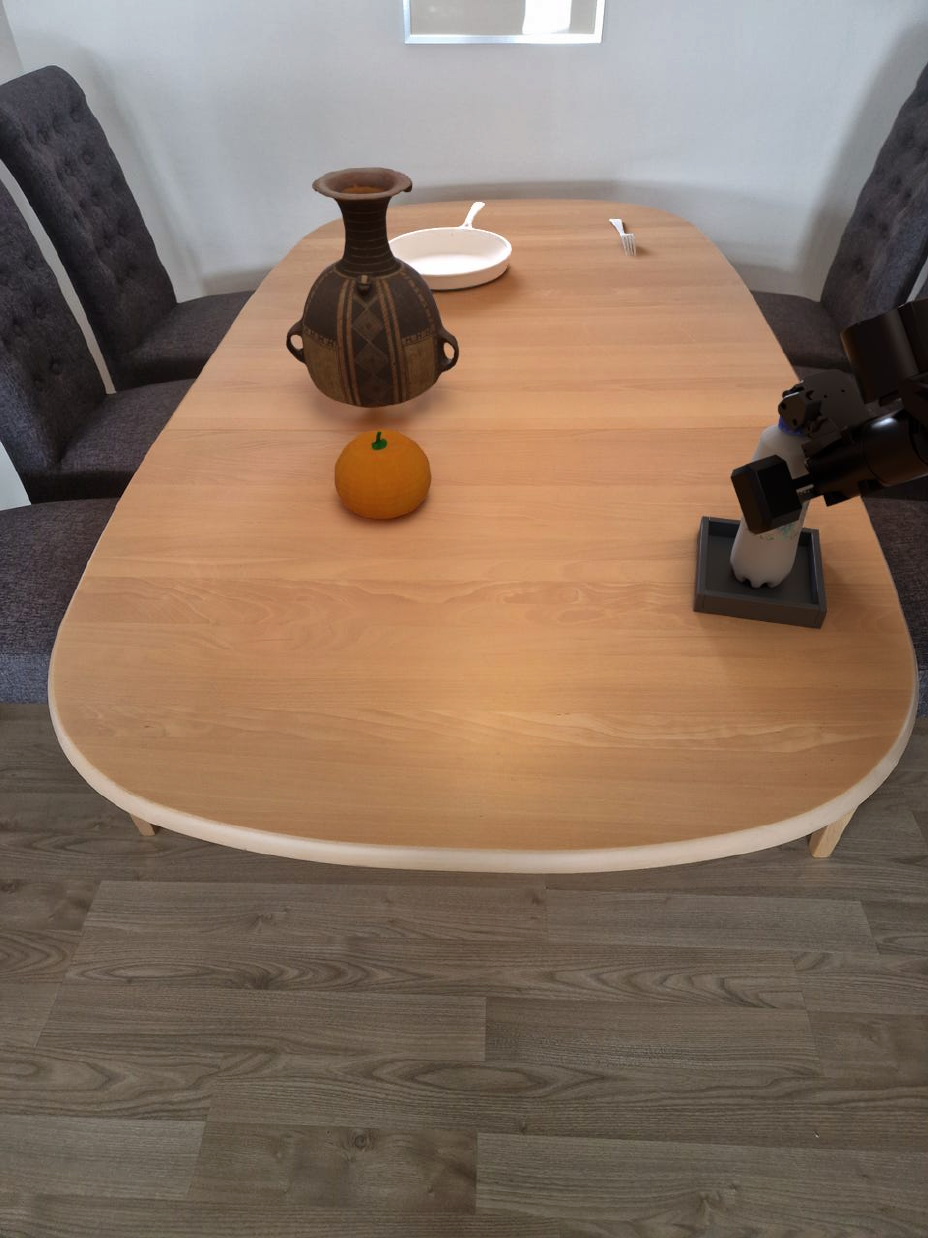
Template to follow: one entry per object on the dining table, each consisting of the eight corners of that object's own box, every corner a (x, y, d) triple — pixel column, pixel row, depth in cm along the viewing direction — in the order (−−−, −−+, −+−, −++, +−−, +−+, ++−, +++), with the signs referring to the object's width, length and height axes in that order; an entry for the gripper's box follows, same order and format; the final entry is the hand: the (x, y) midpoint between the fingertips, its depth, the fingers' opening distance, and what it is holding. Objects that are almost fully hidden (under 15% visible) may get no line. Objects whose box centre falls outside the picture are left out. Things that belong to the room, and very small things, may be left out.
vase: (279, 421, 115) (230, 193, 94) (348, 363, 128) (319, 150, 107) (422, 454, 108) (403, 214, 87) (481, 389, 120) (477, 165, 99)
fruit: (447, 484, 102) (443, 413, 96) (411, 538, 95) (404, 465, 88) (363, 469, 106) (353, 399, 99) (322, 520, 98) (308, 448, 91)
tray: (812, 546, 91) (818, 529, 89) (821, 629, 82) (827, 611, 80) (698, 533, 94) (702, 515, 92) (693, 611, 84) (697, 593, 82)
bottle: (712, 566, 88) (749, 398, 75) (762, 549, 90) (806, 382, 77) (752, 602, 84) (799, 430, 70) (803, 583, 86) (858, 413, 72)
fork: (619, 231, 174) (621, 217, 172) (638, 255, 157) (639, 240, 155) (606, 232, 174) (607, 218, 172) (623, 256, 157) (625, 240, 155)
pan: (362, 289, 149) (359, 263, 146) (425, 221, 175) (424, 198, 172) (493, 299, 144) (493, 273, 140) (538, 228, 170) (538, 205, 167)
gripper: (940, 333, 69) (813, 396, 84) (769, 384, 64) (666, 442, 79) (982, 455, 69) (848, 497, 84) (816, 517, 64) (703, 550, 79)
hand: (768, 494), depth 81 cm, fingers open, 6 cm apart
